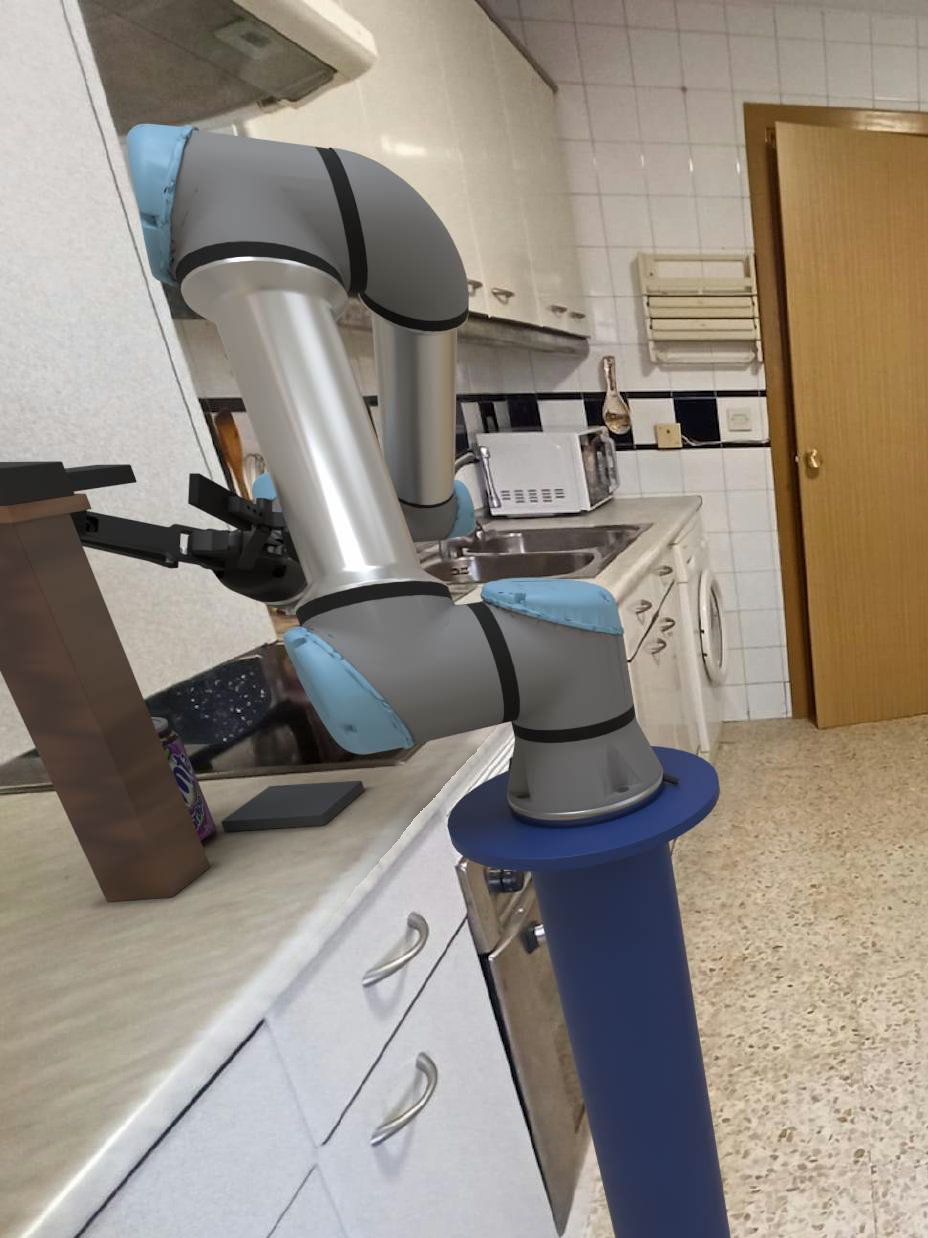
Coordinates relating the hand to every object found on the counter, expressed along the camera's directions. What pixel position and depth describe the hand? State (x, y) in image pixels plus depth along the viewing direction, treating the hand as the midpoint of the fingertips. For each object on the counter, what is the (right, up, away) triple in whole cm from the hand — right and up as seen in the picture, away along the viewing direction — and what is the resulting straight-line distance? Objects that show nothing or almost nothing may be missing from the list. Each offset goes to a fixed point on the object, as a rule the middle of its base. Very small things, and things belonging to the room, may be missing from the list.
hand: (103, 489), depth 72 cm
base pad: (+3, -29, +16) cm, 33 cm away
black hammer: (+1, -2, -5) cm, 5 cm away
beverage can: (-4, -31, +10) cm, 33 cm away
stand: (+1, -34, +4) cm, 34 cm away
